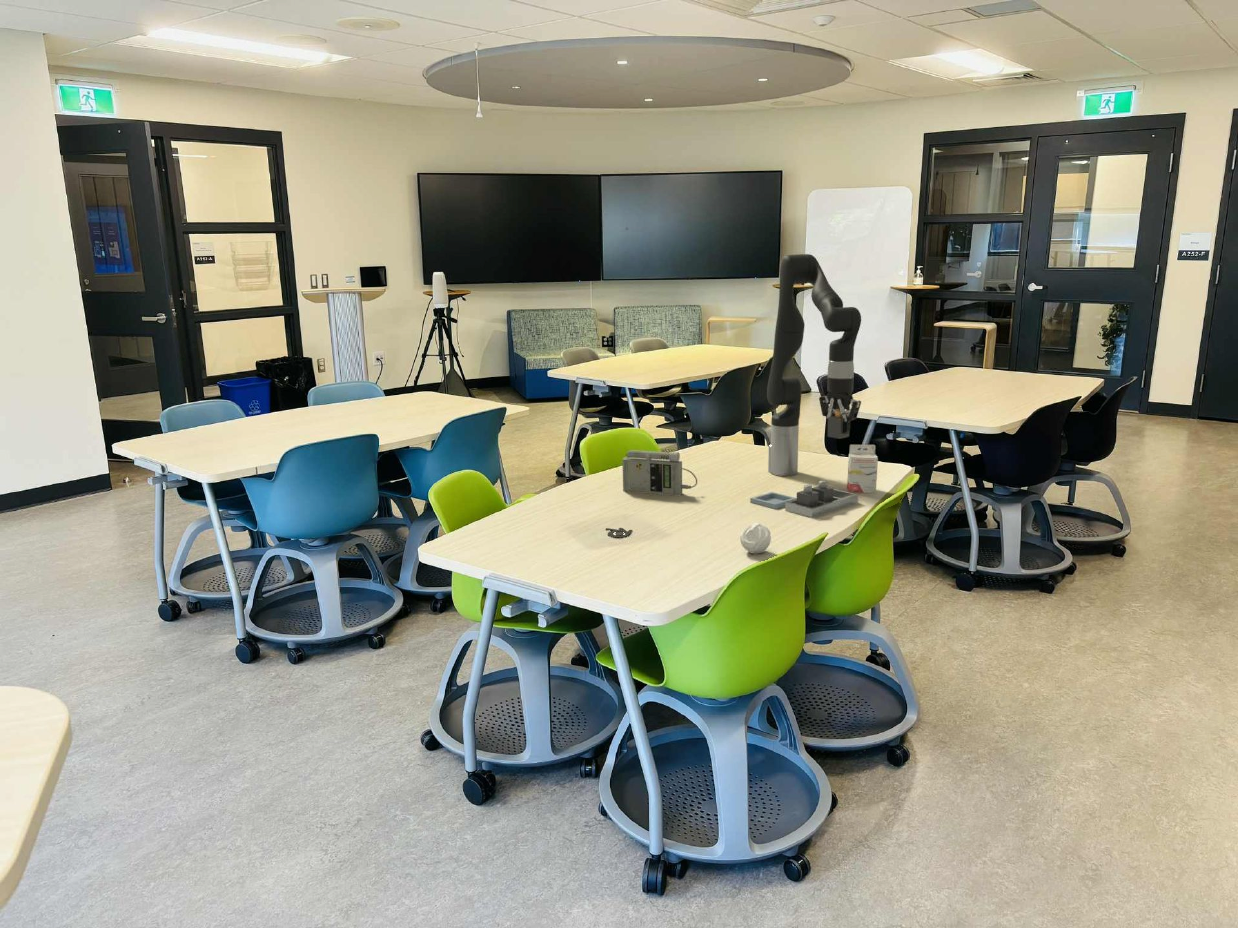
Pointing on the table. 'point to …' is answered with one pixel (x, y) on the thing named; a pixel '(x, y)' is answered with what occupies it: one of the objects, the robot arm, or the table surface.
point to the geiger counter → (653, 473)
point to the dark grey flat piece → (618, 533)
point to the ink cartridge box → (862, 469)
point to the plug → (836, 426)
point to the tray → (771, 500)
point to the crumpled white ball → (755, 538)
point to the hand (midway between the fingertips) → (838, 431)
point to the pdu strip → (823, 504)
